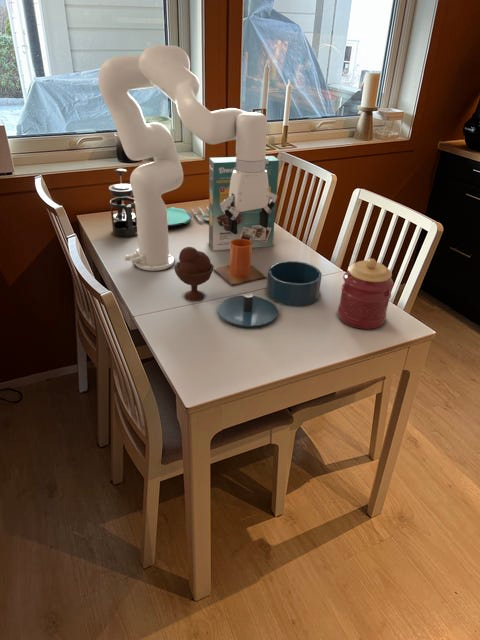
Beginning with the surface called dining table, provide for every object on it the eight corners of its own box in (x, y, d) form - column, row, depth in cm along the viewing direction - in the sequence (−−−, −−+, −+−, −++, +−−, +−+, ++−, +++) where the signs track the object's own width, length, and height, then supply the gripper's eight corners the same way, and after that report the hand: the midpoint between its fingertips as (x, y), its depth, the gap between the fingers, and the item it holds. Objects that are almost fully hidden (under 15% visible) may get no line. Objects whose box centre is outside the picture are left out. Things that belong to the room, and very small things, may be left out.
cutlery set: (135, 214, 202) (135, 208, 200) (207, 208, 211) (207, 203, 210) (145, 232, 186) (144, 226, 185) (222, 225, 195) (222, 219, 194)
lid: (236, 334, 129) (236, 316, 126) (207, 306, 141) (207, 288, 138) (288, 320, 137) (290, 302, 134) (257, 294, 149) (258, 277, 146)
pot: (286, 311, 141) (288, 289, 137) (256, 287, 152) (258, 266, 149) (329, 299, 148) (332, 278, 144) (298, 277, 159) (300, 257, 155)
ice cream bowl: (184, 308, 140) (183, 259, 132) (170, 291, 148) (168, 243, 140) (219, 301, 144) (220, 253, 136) (203, 284, 152) (203, 238, 144)
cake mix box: (267, 239, 185) (273, 155, 169) (272, 246, 180) (279, 160, 164) (208, 243, 179) (209, 157, 163) (212, 250, 174) (213, 162, 158)
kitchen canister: (393, 318, 139) (407, 260, 130) (368, 335, 131) (380, 275, 122) (354, 301, 147) (364, 245, 138) (327, 316, 139) (336, 257, 130)
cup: (235, 278, 155) (237, 248, 150) (225, 270, 160) (226, 240, 155) (254, 274, 158) (256, 245, 153) (243, 266, 163) (245, 237, 158)
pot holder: (231, 285, 152) (232, 284, 152) (213, 270, 161) (213, 268, 161) (265, 278, 158) (265, 276, 157) (246, 263, 166) (246, 261, 166)
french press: (108, 229, 187) (101, 167, 175) (132, 225, 191) (127, 164, 179) (118, 241, 178) (112, 176, 166) (144, 236, 182) (139, 172, 170)
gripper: (270, 158, 135) (267, 220, 143) (213, 165, 127) (213, 230, 136) (286, 165, 129) (282, 228, 138) (228, 172, 121) (227, 239, 130)
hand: (248, 229), depth 137 cm, fingers open, 9 cm apart
